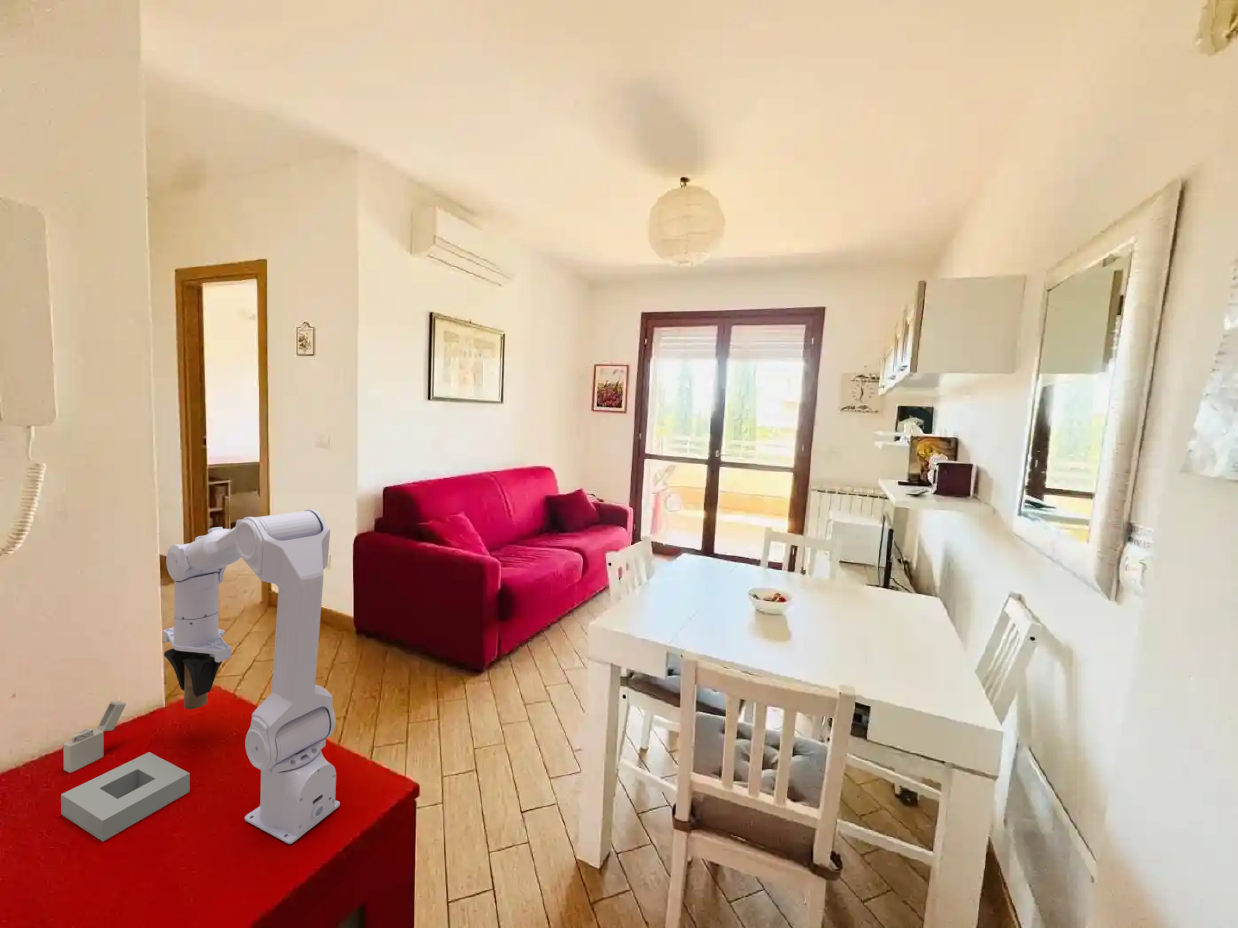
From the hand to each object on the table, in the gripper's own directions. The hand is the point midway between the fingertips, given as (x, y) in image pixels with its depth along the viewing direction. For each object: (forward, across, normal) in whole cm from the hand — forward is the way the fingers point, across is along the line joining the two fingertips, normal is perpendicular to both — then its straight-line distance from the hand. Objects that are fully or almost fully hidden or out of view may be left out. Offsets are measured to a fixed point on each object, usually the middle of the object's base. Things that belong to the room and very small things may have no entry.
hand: (196, 690), depth 86 cm
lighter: (+10, +9, +9) cm, 16 cm away
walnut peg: (+2, 0, 0) cm, 2 cm away
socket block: (+9, -6, +12) cm, 16 cm away
